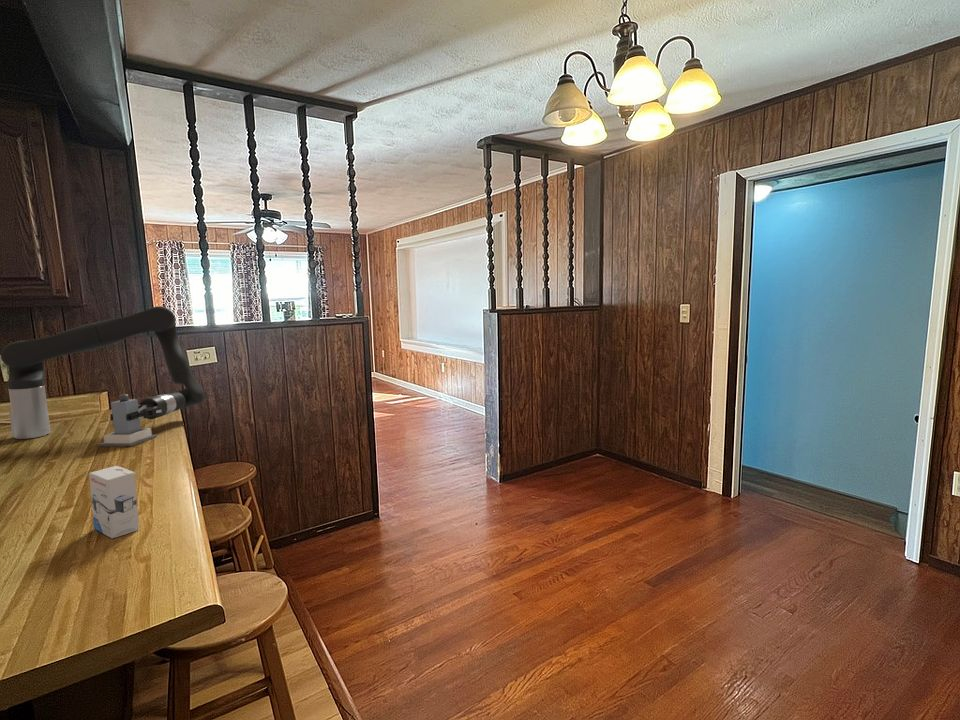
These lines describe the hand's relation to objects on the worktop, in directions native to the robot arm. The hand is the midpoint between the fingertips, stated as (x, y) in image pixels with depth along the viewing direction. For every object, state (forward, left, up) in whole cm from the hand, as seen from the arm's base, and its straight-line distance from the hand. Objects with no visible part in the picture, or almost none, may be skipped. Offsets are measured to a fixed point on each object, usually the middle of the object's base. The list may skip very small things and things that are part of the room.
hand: (119, 417), depth 158 cm
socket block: (0, +3, -9) cm, 9 cm away
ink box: (+49, -57, -9) cm, 76 cm away
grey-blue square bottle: (0, +3, -7) cm, 8 cm away
